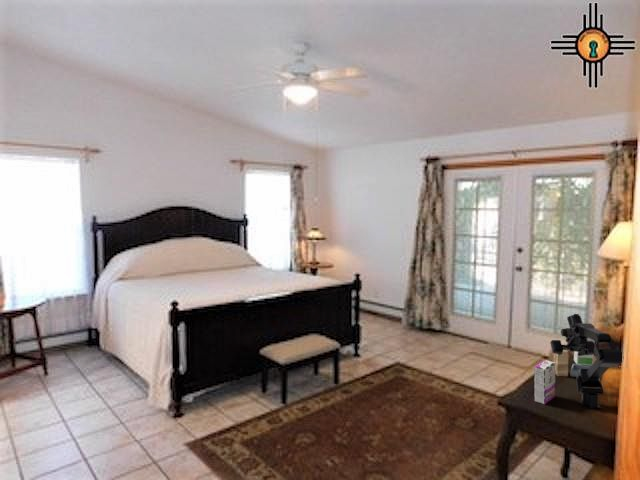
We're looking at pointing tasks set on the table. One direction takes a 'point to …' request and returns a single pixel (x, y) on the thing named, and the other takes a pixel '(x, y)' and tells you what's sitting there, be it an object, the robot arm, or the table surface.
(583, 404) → the robot arm
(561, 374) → the oak handle block
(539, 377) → the candy bar box
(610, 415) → the table surface
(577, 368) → the tray
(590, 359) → the skincare box
